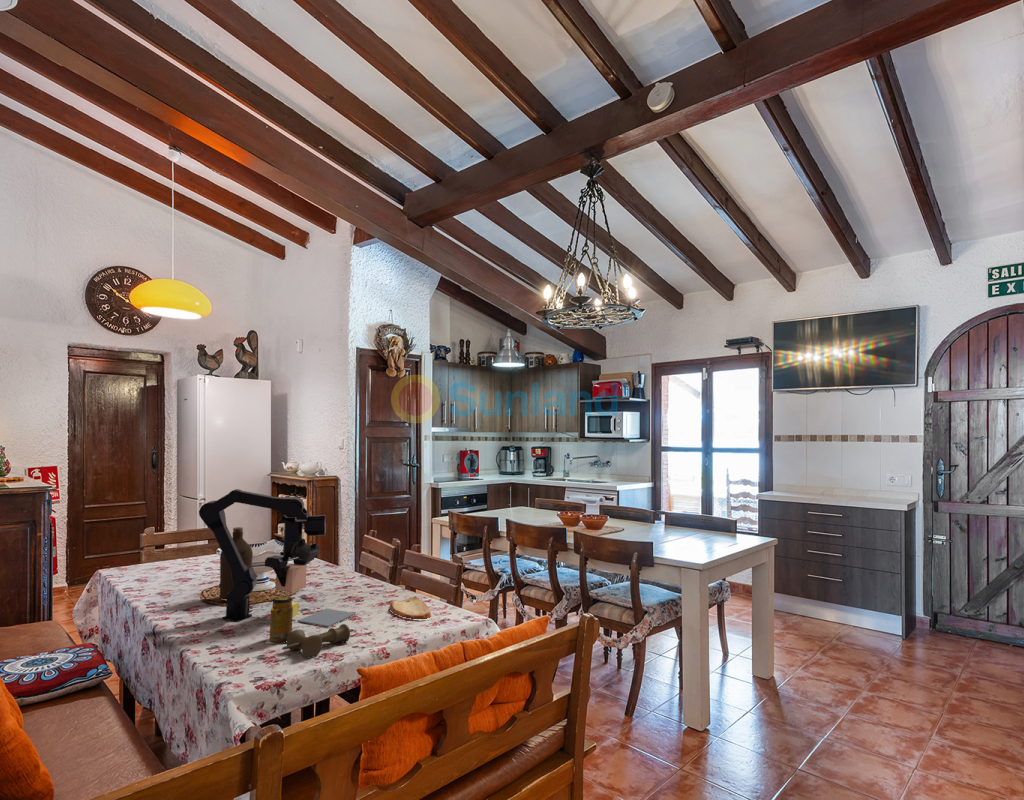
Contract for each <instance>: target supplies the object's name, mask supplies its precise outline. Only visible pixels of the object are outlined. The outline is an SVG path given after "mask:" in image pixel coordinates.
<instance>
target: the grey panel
mask: <svg viewBox="0 0 1024 800" xmlns="http://www.w3.org/2000/svg"><path fill="white" fill-rule="evenodd" d="M355 614H356V615H357V613H356V612H352V611H343V610H337V609H331V608H325V609H321V610H320V611H317V612H314V613H313V614H310V615H308V616H305V617H302V618H300V619H298V620H297V623H300V622H302V623H301V624H306V623H309V624H308V625H311V624H315V625H314V626H317V625H321V626H320V627H323V626H326V627H325V628H328V627H329V626H331V627H333V626H335V625H337V624H339V623H338V622H340V621H342V622H344V621H345V619H346V620H348V619H350V618H352V617H351V616H353V615H355ZM356 615H355V616H356ZM349 617H350V618H349ZM353 617H354V616H353ZM347 618H348V619H347ZM343 620H344V621H343ZM336 623H337V624H336ZM340 623H341V622H340ZM334 624H335V625H334ZM332 625H333V626H332ZM329 628H330V627H329Z"/></svg>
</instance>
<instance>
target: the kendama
mask: <svg viewBox="0 0 1024 800" xmlns="http://www.w3.org/2000/svg"><path fill="white" fill-rule="evenodd" d="M350 636H351V631H350V627H349V626H348V625H347V624H345V623H342V624H340V625H339V627H336V628H334V627H329V629H328V631H327V632H324V633H322V634H320V635H318V634H311V635H310V636H309V635H308V636H306V633H305V632H304V630H302V629H295V630H292V632H291V633H290V634H289V636H288V637H287V643H286V646H285V645H284V646H283V647H282V648H281V649H282V650H290V651H297V650H301V654H302V655H303V657H304V658H306V659H309V658H308V657H312V656H315V657H317V656H318V655H319V654H320V653H321V651H322V647H323V643H329V644H332V645H334V644H336V643H337V642H342V641H344V642H343V643H347V642H348V641H349V640H350V638H351V637H350ZM346 641H347V642H346ZM316 655H317V656H316ZM312 658H313V657H312Z"/></svg>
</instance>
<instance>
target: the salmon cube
mask: <svg viewBox="0 0 1024 800" xmlns="http://www.w3.org/2000/svg"><path fill="white" fill-rule="evenodd" d="M287 566H290V568H289V569H288V570H287V575H286V584H285V586H284V587H283V586H281V584H280V581H279V579H278V577H277V575H276V574H275V591H280V592H287V593H295V592H297V591H300V590H302V589H305V588H306V587H307V567H308V565H299V564H294V563H288V564H287Z"/></svg>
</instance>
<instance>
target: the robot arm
mask: <svg viewBox="0 0 1024 800" xmlns="http://www.w3.org/2000/svg"><path fill="white" fill-rule="evenodd" d="M235 503H237V504H243V505H249V506H254V507H258V508H259V507H260V508H266V509H271V510H274V511H277V512H278V513H280V514H282V517H281V518H280V519H279V520H278V524H284V526H283V527H284V528H283V538H282V539H280V543H282V544H283V546H282V547H283V548H282V549H283V550H282V551H281V552H280V553H279V555H271V556H268V557H266V558H265V559H264V567H266V568H271V569H273V571H274V573H275V576H276V575H277V577H278V579H279V581H280V584H281V586H283V587H284V586H285V584H286V575H287V570H288V569H289V568H290V566H287V564H289V563H288V562H291V561H293V564H299V565H306V566H308V564H309V563H311V562H313V561H314V560H315V558H318V555H319V553H320V545H319V544H318V543H312V544H306V538H303V533H304V534H306V535H307V537H311V536H312V537H313V536H314V537H319V536H321V537H324V536H326V534H327V533H326V531H327V523H326V521H327V520H326V517H327V516H326V514H320V515H310V513H309V511H308V510H307V509H306V508H305V502H304V500H303V499H302V498H300V497H298V496H272V495H266V494H262V493H256V492H250V491H246V490H241V489H238V488H237V489H236V488H235V489H233V490H231V491H229V492H228V494H226V495H224V496H222V497H220V498H219V499H217V500H211V501H208V502H206V503H204V504H203V505H201V506H200V508H199V509H198V516H199V517H200V519H201V520H202V522H203V523H204V524H205V525H206V526H207V528H209V529H210V530H211V532H212V533H213V535H214V537H215V540H216V542H217V544H218V547H219V548H220V551H221V552H222V553H223V555H224V557H225V559H226V561H227V563H228V566H229V568H230V570H231V576H232V583H233V588H232V589H231V590H230V592H229V593H228V594H227V595H226V599H227V602H226V610H225V612H226V613H225V616H222V617H221V618H222V620H226V621H232V622H240V621H242V620H245V619H248V618H250V617H253V614H252V613H250V605H251V604H250V596H247V595H248V594H249V595H250V594H251V593H252V591H253V590H254V589H255V587H256V586H257V583H258V579H257V578H258V575H257V573H256V571H255V569H254V565H252V566H251V567H249V568H248V567H247V566H246V565H245V564H244V562H243V560H242V558H241V556H240V554H239V551H238V549H237V547H236V545H235V543H234V541H233V535H232V534H231V532H230V530H229V528H228V525H227V519H226V512H225V509H227V508H228V507H230V506H232V505H234V504H235ZM303 525H304V526H303ZM303 527H304V529H303Z"/></svg>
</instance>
